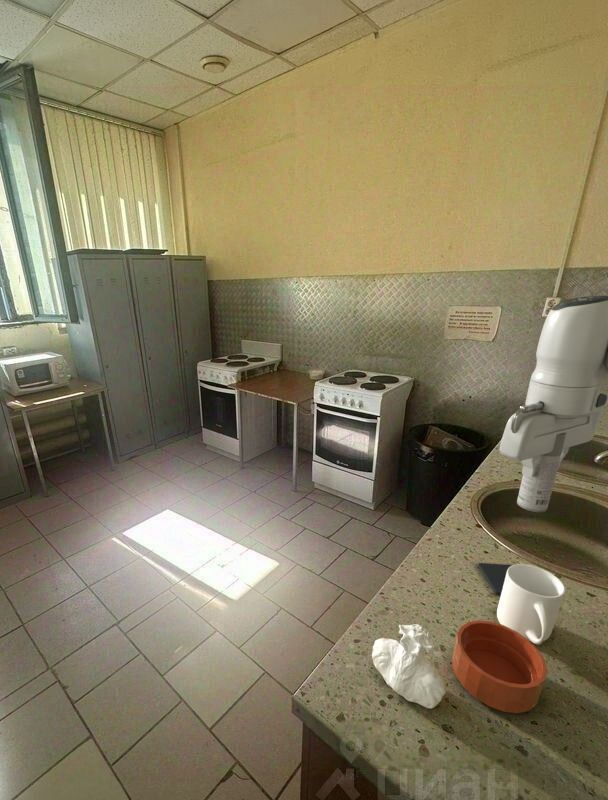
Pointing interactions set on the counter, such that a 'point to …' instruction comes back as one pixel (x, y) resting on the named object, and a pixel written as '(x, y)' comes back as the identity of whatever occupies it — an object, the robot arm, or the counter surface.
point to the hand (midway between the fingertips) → (540, 471)
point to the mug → (530, 601)
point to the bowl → (498, 666)
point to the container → (541, 479)
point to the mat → (494, 575)
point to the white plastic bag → (410, 666)
